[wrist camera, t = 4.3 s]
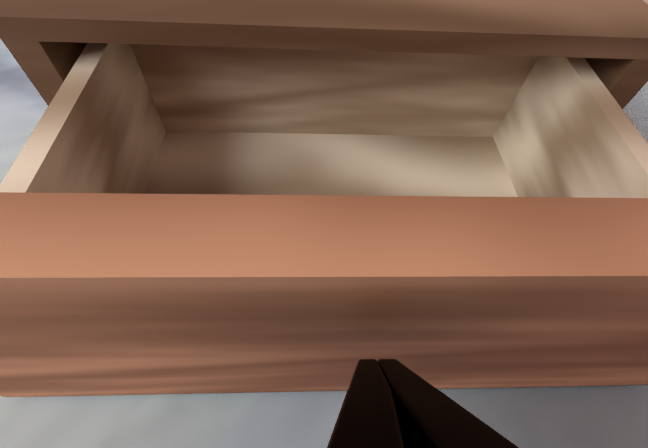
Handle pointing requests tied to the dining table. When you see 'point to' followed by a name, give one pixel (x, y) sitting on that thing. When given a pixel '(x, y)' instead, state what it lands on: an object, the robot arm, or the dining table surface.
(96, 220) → the drawer
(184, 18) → the cabinet
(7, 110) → the dining table surface
